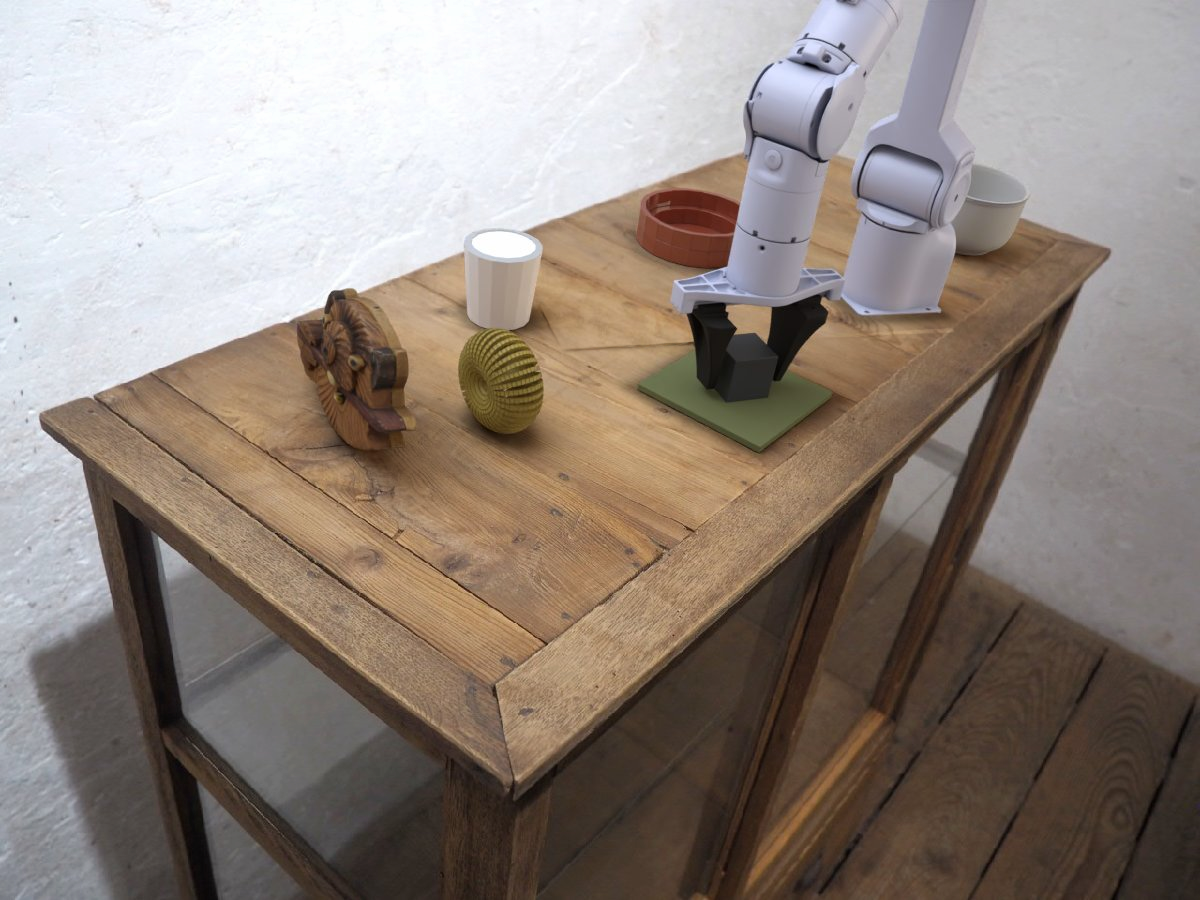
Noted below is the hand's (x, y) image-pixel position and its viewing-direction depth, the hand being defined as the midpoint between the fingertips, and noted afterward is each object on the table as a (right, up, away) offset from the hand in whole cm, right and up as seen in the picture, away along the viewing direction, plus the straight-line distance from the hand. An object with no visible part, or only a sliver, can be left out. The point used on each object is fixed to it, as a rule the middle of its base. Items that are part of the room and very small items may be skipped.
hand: (738, 379), depth 88 cm
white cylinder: (-21, +6, +7) cm, 23 cm away
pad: (0, -1, +1) cm, 2 cm away
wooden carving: (-30, -4, -9) cm, 32 cm away
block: (0, -1, 0) cm, 1 cm away
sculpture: (-20, -4, -7) cm, 21 cm away
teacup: (+28, +18, +34) cm, 48 cm away
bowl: (-2, +16, +24) cm, 29 cm away
